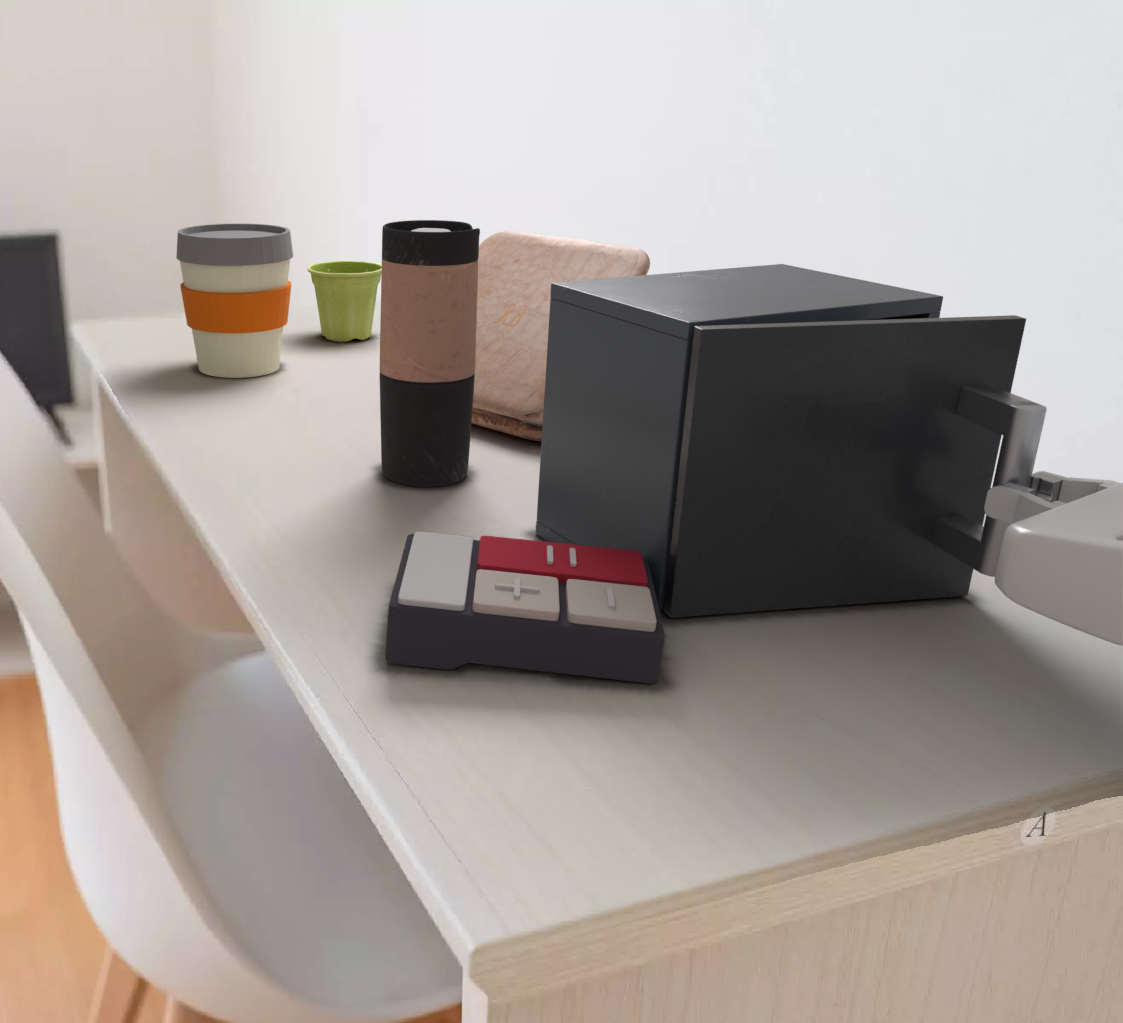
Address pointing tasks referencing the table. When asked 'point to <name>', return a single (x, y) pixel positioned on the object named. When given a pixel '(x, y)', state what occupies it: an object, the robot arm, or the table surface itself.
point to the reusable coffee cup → (236, 295)
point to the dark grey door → (845, 461)
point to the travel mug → (427, 350)
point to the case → (528, 318)
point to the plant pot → (346, 297)
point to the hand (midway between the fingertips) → (1009, 491)
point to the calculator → (524, 607)
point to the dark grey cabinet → (658, 387)
